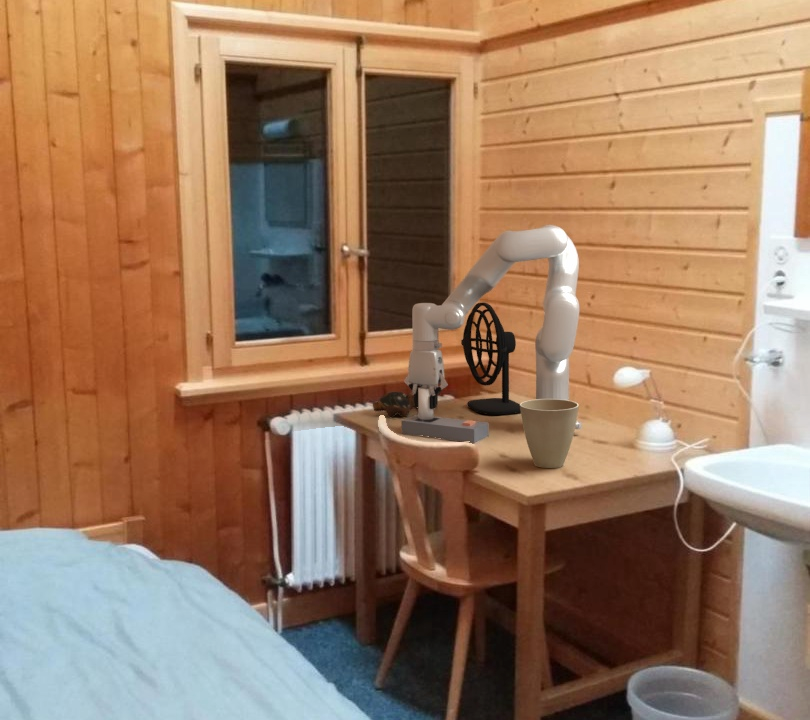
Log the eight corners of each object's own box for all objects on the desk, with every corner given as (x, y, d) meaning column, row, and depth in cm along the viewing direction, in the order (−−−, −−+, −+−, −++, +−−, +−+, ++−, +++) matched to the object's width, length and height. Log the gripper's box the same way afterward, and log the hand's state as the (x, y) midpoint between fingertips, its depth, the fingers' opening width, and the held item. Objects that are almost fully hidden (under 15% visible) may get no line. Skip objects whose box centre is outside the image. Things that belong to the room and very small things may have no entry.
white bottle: (436, 417, 288) (435, 380, 286) (428, 420, 284) (428, 383, 282) (423, 415, 290) (423, 379, 288) (415, 418, 287) (415, 381, 285)
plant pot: (589, 463, 253) (590, 403, 250) (556, 476, 242) (556, 413, 239) (541, 453, 263) (542, 395, 260) (508, 465, 252) (507, 405, 249)
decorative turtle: (420, 419, 306) (418, 394, 304) (372, 422, 307) (370, 397, 305) (421, 410, 315) (419, 386, 314) (375, 414, 317) (372, 390, 315)
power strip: (488, 436, 283) (488, 420, 282) (474, 443, 275) (474, 426, 274) (417, 427, 295) (417, 411, 294) (401, 433, 287) (401, 417, 287)
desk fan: (452, 403, 328) (451, 299, 322) (500, 399, 333) (500, 296, 327) (482, 420, 302) (481, 307, 296) (534, 415, 307) (534, 305, 302)
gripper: (457, 346, 283) (457, 408, 286) (407, 342, 291) (407, 402, 294) (444, 349, 276) (444, 413, 279) (394, 345, 285) (394, 406, 288)
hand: (425, 406), depth 287 cm, fingers closed on white bottle, 4 cm apart
